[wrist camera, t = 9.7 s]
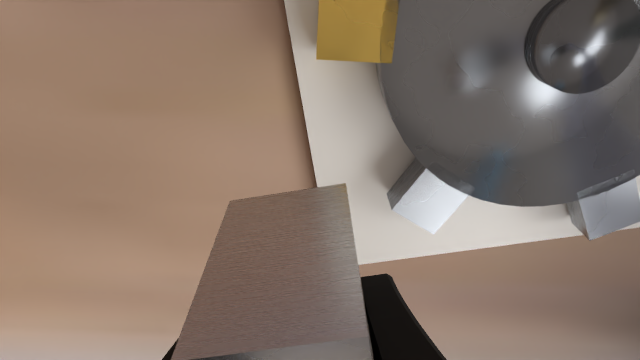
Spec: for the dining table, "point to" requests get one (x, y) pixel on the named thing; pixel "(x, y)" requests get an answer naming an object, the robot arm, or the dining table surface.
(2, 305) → the dining table surface
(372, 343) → the robot arm
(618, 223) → the sprocket
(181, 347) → the yellow banded block
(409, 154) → the base plate
